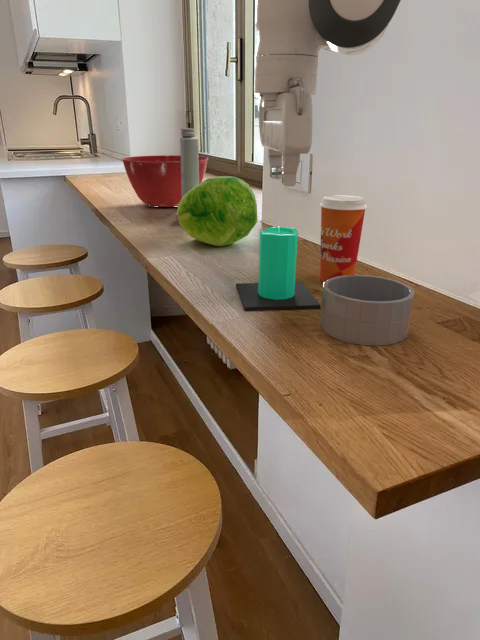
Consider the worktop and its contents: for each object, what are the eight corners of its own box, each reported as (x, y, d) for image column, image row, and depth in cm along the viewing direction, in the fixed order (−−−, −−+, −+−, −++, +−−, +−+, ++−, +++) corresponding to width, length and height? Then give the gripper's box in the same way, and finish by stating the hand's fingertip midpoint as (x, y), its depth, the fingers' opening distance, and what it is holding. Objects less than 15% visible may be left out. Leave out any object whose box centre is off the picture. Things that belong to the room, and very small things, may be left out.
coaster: (302, 285, 88) (302, 281, 88) (320, 308, 77) (320, 305, 77) (235, 286, 87) (235, 283, 87) (244, 310, 76) (244, 307, 76)
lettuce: (229, 230, 129) (185, 182, 123) (282, 201, 114) (234, 145, 108) (200, 275, 120) (149, 226, 114) (253, 250, 105) (198, 191, 99)
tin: (387, 311, 77) (392, 273, 75) (423, 343, 66) (430, 301, 63) (310, 313, 75) (313, 275, 73) (334, 347, 64) (338, 304, 62)
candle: (282, 286, 86) (286, 216, 81) (301, 296, 81) (306, 223, 76) (251, 290, 83) (253, 219, 79) (268, 301, 78) (271, 226, 74)
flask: (181, 215, 150) (179, 127, 141) (197, 215, 151) (195, 127, 141) (183, 227, 134) (180, 128, 125) (200, 227, 135) (198, 128, 125)
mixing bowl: (124, 213, 152) (120, 160, 147) (125, 199, 178) (121, 154, 172) (214, 211, 158) (214, 160, 152) (202, 198, 184) (202, 154, 178)
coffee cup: (304, 279, 91) (310, 197, 86) (332, 271, 96) (339, 193, 91) (341, 290, 86) (350, 202, 80) (368, 281, 91) (378, 198, 85)
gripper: (327, 75, 61) (320, 190, 66) (291, 86, 80) (288, 175, 85) (277, 74, 60) (274, 191, 65) (252, 85, 79) (251, 175, 84)
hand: (281, 182), depth 75 cm, fingers open, 8 cm apart
